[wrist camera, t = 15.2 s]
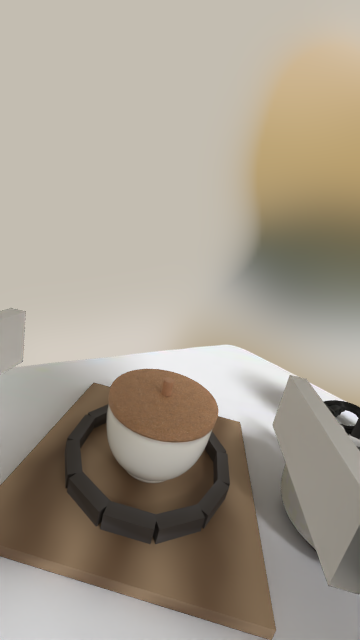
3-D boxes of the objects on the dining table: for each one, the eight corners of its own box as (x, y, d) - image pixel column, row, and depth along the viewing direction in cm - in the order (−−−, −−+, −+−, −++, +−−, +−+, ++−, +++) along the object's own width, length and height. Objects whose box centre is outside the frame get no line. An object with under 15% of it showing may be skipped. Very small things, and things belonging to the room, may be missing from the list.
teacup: (401, 636, 19) (456, 557, 17) (256, 534, 24) (285, 463, 22) (376, 501, 31) (407, 445, 29) (282, 451, 36) (303, 400, 34)
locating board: (238, 428, 39) (243, 413, 38) (271, 640, 18) (283, 614, 17) (92, 388, 40) (95, 373, 39) (-43, 543, 19) (-42, 516, 18)
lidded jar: (101, 421, 32) (114, 349, 30) (186, 426, 35) (205, 361, 32) (91, 508, 22) (110, 410, 20) (212, 505, 25) (241, 419, 22)
